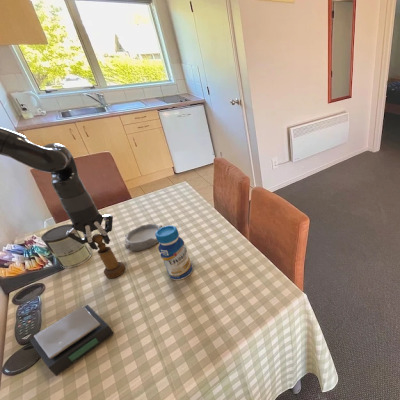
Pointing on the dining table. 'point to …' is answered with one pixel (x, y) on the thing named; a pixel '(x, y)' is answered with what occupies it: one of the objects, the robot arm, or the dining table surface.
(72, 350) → the scale
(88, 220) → the robot arm
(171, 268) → the beverage bottle
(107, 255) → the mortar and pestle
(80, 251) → the coffee can
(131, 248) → the dish
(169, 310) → the dining table surface
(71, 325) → the scale pan
